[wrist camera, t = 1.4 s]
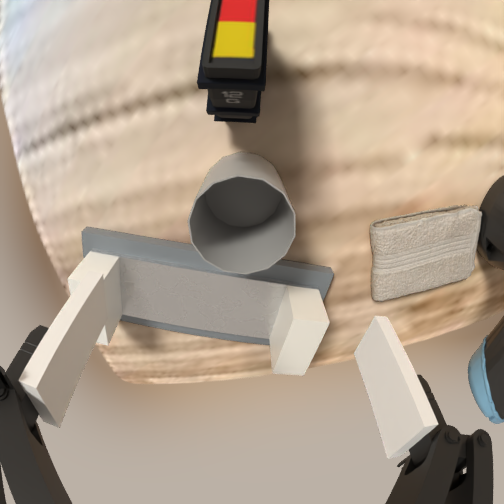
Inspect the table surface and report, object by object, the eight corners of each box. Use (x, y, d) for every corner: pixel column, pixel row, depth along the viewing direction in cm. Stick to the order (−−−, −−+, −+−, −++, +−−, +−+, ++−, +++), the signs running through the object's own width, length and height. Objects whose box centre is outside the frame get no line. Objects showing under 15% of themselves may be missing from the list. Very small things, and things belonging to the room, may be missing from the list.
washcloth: (466, 268, 38) (476, 279, 36) (367, 296, 40) (375, 310, 37) (474, 197, 33) (488, 205, 30) (365, 219, 34) (374, 230, 32)
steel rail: (317, 285, 36) (318, 289, 36) (296, 337, 40) (297, 341, 40) (92, 248, 33) (90, 251, 32) (98, 304, 37) (96, 308, 37)
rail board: (331, 267, 37) (333, 274, 35) (301, 341, 43) (302, 348, 42) (86, 226, 33) (81, 231, 32) (94, 306, 39) (91, 313, 38)
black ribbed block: (215, 150, 28) (194, 72, 13) (225, 44, 28) (220, -54, 13) (253, 151, 28) (267, 75, 13) (259, 46, 28) (272, -52, 13)
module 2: (318, 289, 36) (329, 322, 30) (297, 341, 40) (303, 375, 34) (286, 285, 35) (293, 318, 30) (269, 339, 39) (272, 373, 34)
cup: (282, 223, 34) (295, 271, 25) (209, 228, 34) (197, 277, 25) (280, 149, 30) (294, 171, 21) (200, 155, 30) (181, 179, 21)
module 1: (119, 256, 33) (99, 285, 28) (122, 314, 37) (108, 345, 32) (90, 251, 32) (67, 278, 27) (96, 308, 37) (79, 338, 31)
